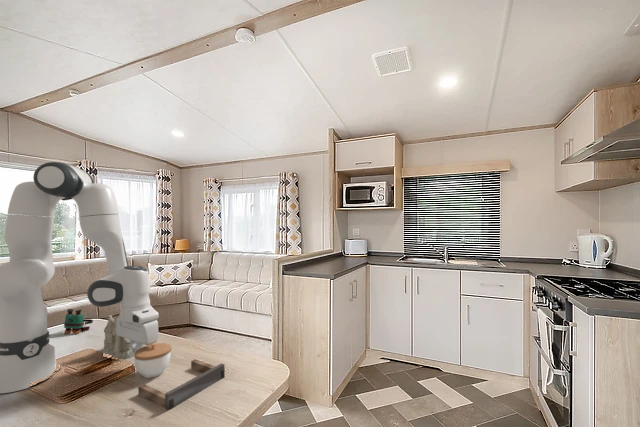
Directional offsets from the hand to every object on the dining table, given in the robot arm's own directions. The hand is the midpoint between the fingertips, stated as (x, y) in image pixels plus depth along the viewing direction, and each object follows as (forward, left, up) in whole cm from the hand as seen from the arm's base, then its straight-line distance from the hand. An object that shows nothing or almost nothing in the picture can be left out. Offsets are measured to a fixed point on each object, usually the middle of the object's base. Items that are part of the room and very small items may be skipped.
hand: (136, 352), depth 106 cm
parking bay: (+25, 0, -5) cm, 26 cm away
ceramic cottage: (-17, +5, -5) cm, 18 cm away
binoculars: (-60, +6, -5) cm, 60 cm away
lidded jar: (+10, 0, -5) cm, 11 cm away
